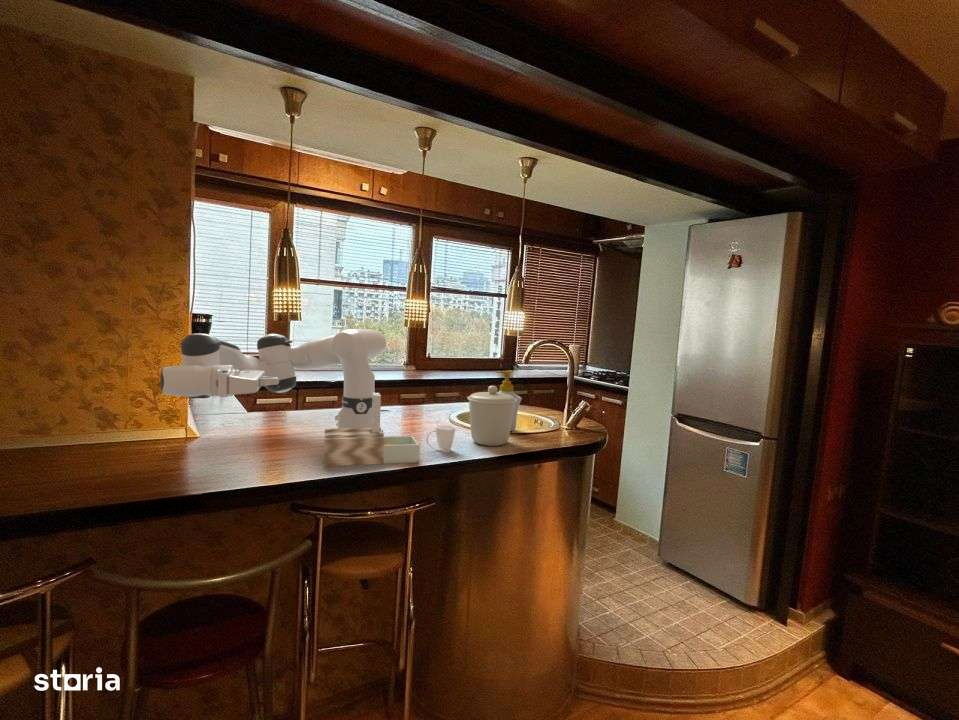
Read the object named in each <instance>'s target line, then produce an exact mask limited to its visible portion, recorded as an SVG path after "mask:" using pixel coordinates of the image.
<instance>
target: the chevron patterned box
mask: <svg viewBox="0 0 959 720" xmlns="http://www.w3.org/2000/svg"><path fill="white" fill-rule="evenodd" d="M381 429H382V427H380V433H372V431H371V428H345V429H333V428H324V440H323V441H324V442H323V443H324V444H323V445H324V446H323V447H324V448H323V449H324V450H323V458H324V459H323V462H324V467H338V466H339V467H340V466H341V467H342V466H360V465H384V464H383V463H384V435H385V433H384V432H383V433H382V432H381Z"/></svg>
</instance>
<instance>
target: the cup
mask: <svg viewBox="0 0 959 720" xmlns="http://www.w3.org/2000/svg"><path fill="white" fill-rule="evenodd" d="M456 428H457V427H456V426H454V425H451V424H439V425H436V427H435V429H432V430H430V431H428V432H427V435H426V444H427V445H428V446H429V447H430V448H431V449H433V450H434V451H437V452H441V453H448V452H449V453H450V452H452V445H453V442H454V438H455V432H456ZM433 432H434V433H436V442H437V443H436V444H437V445H438V449H437V448H434V447H433V446H431V445H430V444H429V441H428V440H429V435H430V434H432V433H433Z"/></svg>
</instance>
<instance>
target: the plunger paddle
mask: <svg viewBox="0 0 959 720" xmlns="http://www.w3.org/2000/svg"><path fill="white" fill-rule="evenodd" d="M381 398H382V395H381V394H380V392H374V393H372V419H371V431H372V433H380V428H381V403H382V399H381Z"/></svg>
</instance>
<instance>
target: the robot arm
mask: <svg viewBox="0 0 959 720" xmlns="http://www.w3.org/2000/svg"><path fill="white" fill-rule="evenodd" d="M386 339H387V338H386V337H385V335H384V334H383V333H382V332H380V331H378V330H375V329H371V328H350V329H349V328H347V329H345V330H341V331H340V332H337V333H336V334H335V335H330V336H326V337H325V336H324V337H321V338H318V339H313V340H309V341H307V342H306V341H305V342H303V343H301V344H299V345H293V346H292V345H291V344H292V343H293V340H289V338H287V337H286V336H285V335H282V334H278V333H268V334H265V335H263V336H262V337H260V338H259V339H258V340H257V343H256V349H257V351H258V357H259V358H258V357H256V356H254V355H253V356H252V355H248V354H243V352H242V351H241V348H240V347H239V346H237V345H236V344H233V343H231V342H228V341H225V340H221V339H219V338H217V337H215V336H214V335H211V334H207V333H201V332H199V333H197V332H196V333H192V334H188V335H187V336H185V337H184V338H183V339H182V340H181V342H180V353H181V364H178V365H168V366H164V367H162V369H161V370H160V379H159V380H160V390H161V392H162V394H163V395H168V396H174V397H175V396H177V397H187V398H188V399H208V398H210V397H220V398H227V397H233V396H234V395H245V394H246V395H247V394H254V393H257V392H258V391H259V390H260V388H261V387H264V388H265V389H266V390H267V391H270V392H272V393H279V394H281V393H287V392H289V391H290V390H292V389H293V388H295V387H296V386H297V376H296V371H295V369H297V370H299V371H313V370H315V371H316V370H320V369H325V368H328V367H333V366H339V365H341V369H342V373H343V395H342V397H341V398H342V399H341V406H342V407H341V409H340V410H339V412H338V413H336V414H335V415H334V421H336V423H335V424H334V425H333V428H332V429H345V428H371V419H372V393H375V381H376V378H375V376H376V375H375V374H374V373H373V372H372V370H371V368H370V364H369V359H373V358H376V357H378V356H380V355H381V354H383V353H384V352H385V350H386V349H387V340H386ZM381 432H382V433H384V429H382V428H381Z"/></svg>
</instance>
